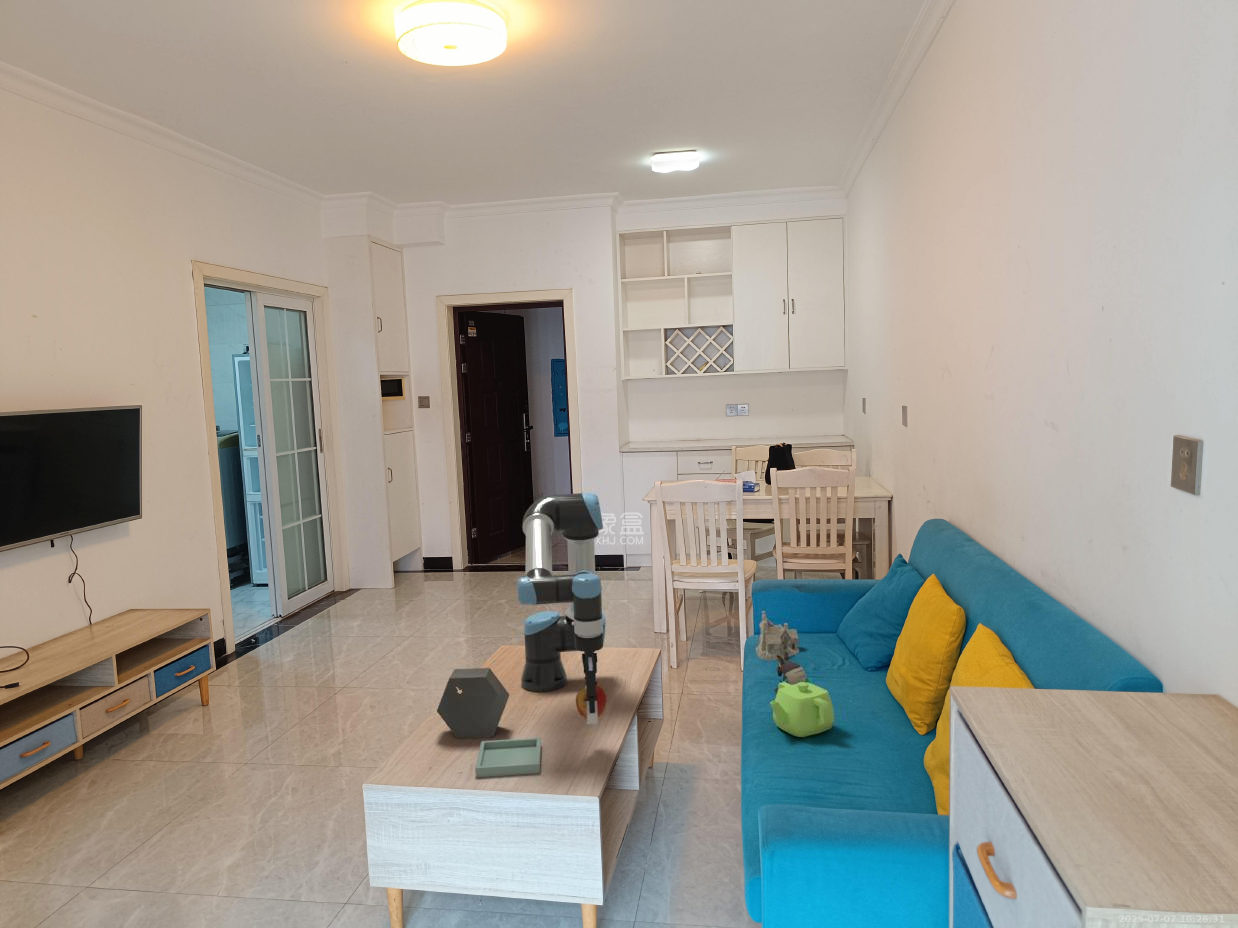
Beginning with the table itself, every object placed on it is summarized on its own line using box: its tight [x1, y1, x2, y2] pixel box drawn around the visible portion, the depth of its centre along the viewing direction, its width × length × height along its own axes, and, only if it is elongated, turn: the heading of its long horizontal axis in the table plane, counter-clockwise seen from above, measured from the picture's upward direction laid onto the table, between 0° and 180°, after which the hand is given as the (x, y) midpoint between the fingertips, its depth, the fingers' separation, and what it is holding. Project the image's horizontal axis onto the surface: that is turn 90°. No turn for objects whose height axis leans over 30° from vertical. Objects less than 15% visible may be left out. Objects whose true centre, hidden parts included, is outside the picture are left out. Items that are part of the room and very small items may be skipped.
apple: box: [575, 684, 607, 720], centre depth 214 cm, size 8×8×10 cm
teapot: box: [769, 681, 835, 738], centre depth 223 cm, size 18×20×13 cm
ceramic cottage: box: [755, 610, 800, 661], centre depth 290 cm, size 16×16×15 cm
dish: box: [474, 736, 542, 778], centre depth 211 cm, size 16×16×2 cm
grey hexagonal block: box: [436, 667, 510, 739], centre depth 230 cm, size 17×8×21 cm
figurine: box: [774, 652, 814, 695], centre depth 252 cm, size 11×12×12 cm
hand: (591, 716), depth 215 cm, fingers closed on apple, 8 cm apart
